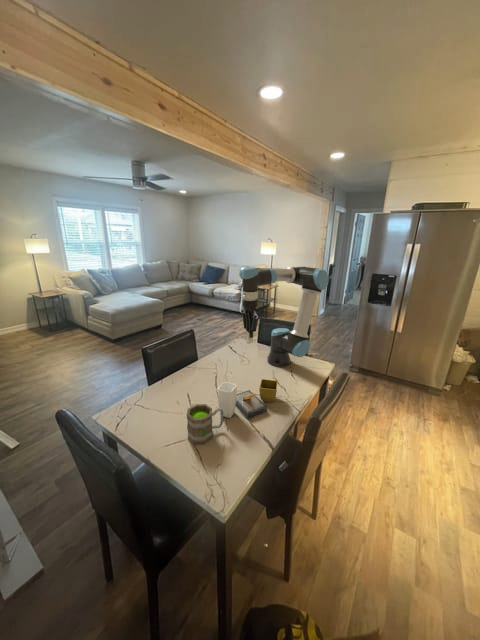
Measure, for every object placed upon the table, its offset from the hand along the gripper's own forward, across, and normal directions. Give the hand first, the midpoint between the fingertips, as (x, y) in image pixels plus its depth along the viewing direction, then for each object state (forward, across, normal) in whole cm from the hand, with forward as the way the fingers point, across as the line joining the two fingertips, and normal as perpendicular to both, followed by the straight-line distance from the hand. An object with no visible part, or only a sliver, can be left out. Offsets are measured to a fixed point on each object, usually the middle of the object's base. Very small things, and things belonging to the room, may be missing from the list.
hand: (249, 342), depth 137 cm
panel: (+27, +14, -10) cm, 32 cm away
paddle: (+23, +12, -10) cm, 28 cm away
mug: (+26, +20, -36) cm, 49 cm away
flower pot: (+28, +14, +2) cm, 31 cm away
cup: (+27, +13, -22) cm, 37 cm away
